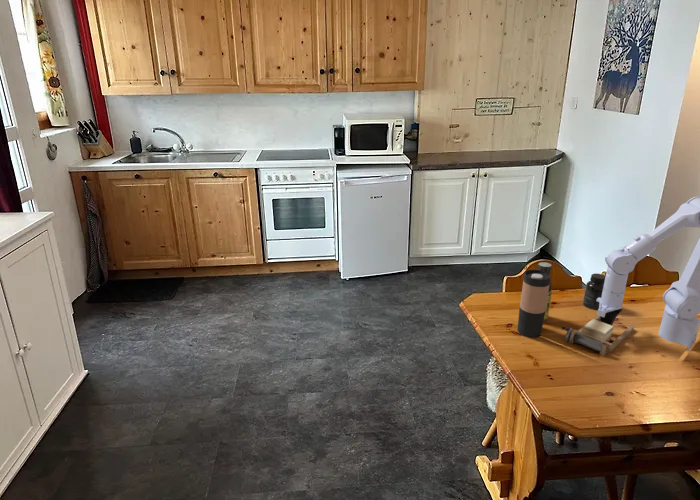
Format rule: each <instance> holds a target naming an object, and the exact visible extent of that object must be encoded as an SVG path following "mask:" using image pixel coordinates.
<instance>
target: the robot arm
mask: <svg viewBox="0 0 700 500" xmlns="http://www.w3.org/2000/svg"><path fill="white" fill-rule="evenodd" d="M683 228H700V195H698V196H694V197H691V198H689V199H688V200H687V201H686V202H685V203H683V204H680V206H679V208H678V209H677V211H675V213H673V214H671V216H670V217H668V218H667V219H666V220H665V221H663V222H662V223H660V224H659V225H658V226H657V227H655V228H654V229H653V230H652V231H651V232H649V233H645V234H644V233H640V235H636V236H634V237H633V239H632V240H630V241H629V242H627V244H625V245H624V246H621V247H619V248H618V249H616V250H615V249H613V250H612V251H610V252H609V253H608V254H607V256H606V257H605V258H604V261H605V264H606V265H607V267H606V273H605V276H606V277H605V282H604V287H603V292H602V297H601V298H597V302H599V303H600V304H599V307H598V310H597V313H596V316H597V315H598V316H600V322H603V323H606V324H609V325H612V326H613V324H614V323H615V320H616V318H617V317H618V316H619V315H620V313H621V312H622V309H623V301H624V296H625V292H626V286H627V281H628V277H629V273H631V272H633V271H634V269H635V266H636V265H637V264H638V262H639V261H641V260H643V259H644V258H645V257H647V256H648V255H651V253H652V252H654V251H656V249H657V245H658V244H659V243H660V242H662V241H663V240H665V239H667V238H668V237H670V236H672V235H673V234H675V233H677V232H679V231H680V230H682V229H683ZM662 295H663V296H662V300H663V302H664V304H665V306H664V310H663V314H662V319H661V323H660V326H659V330H658V336H659V337H660V338H662V340H665V341H667V342H671V343H675V344H678V345H683V346H685V347H686V348H685V350H686V351H690V349H691V348H692V347H693V345H694V344H695V343H696V341H697V336H698V333H699V329H700V319H699V318H698V317H697V316H698V315H699V314H700V237H699V238H698V241H697V242H696V245H695V247H694V249H693V252H691V255H690V257H689V260H688V261H687V264H686V265H685V268H684V270H683V271H682V274H681V276H680V278H679V280H677V281H674V282H672V283H671V285H670V287H669V288H668V289H666V291H664V293H663V294H662Z"/></svg>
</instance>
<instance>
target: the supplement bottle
mask: <svg viewBox="0 0 700 500" xmlns="http://www.w3.org/2000/svg"><path fill="white" fill-rule="evenodd" d="M605 277H606V274H602V273H596V272H595V273H592V274H591V275H590V279H589V281H587V283H586V285H585V289H584V290H585V291H584V295H583V299H582V305H583V306H584V307H585V308H586V309H589V310H593V311H598V307H599V304H600V303H599V302H597V298H601V297H602V292H603V287H604V282H605Z"/></svg>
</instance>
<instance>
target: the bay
mask: <svg viewBox="0 0 700 500" xmlns="http://www.w3.org/2000/svg"><path fill="white" fill-rule="evenodd" d="M592 319H595V320H598V321H601V319H600V316H598V315H597V314H596V315H595V316H594V317H593V318H592ZM592 319H590V320H589V321H588V322H587V323H589V322H590V321H591V320H592ZM587 323H585V324H584V325H582V327H580V328H579V329H578V330H577V329H573V330H574V331H576V332H577V333H579V334H582V335H585V336H587V337H590V338H592V339H595V340H598V341H600V342H603V343H604V342H605V343H607V344H608V348H607V352H606V354H607V353H608V354H610V353H611V352H612V351H613V350H614V349H616V347H617V346H619V345H620V343H622V341H624V340H625V339H626V338H627V337H629V335H630V334H631V333H632V332H633V331H634V329H635V326H634V325H630V326H628V327H627V328H626V329H625V330H624V331H623V332H622V333H621V334H620V335H618V337H617V338H616V339H614V341H613V342H610V341H609V342H606V341H603V340H601V339H598V338H595V337H593V336H590V335H588V334H585V333H583V331H584V326H585V325H586V324H587Z"/></svg>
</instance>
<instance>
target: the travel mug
mask: <svg viewBox="0 0 700 500" xmlns="http://www.w3.org/2000/svg"><path fill="white" fill-rule="evenodd" d="M551 277H552V276H551V274H550V275H547V274H546V273H545V272H544V271H541V270H538V269H528V270H526V271H525V272H524V274H523V280H522V281H523V282H522V289H521V293H520V303H519V310H518V311H519V312H518V319H517V320H518V321H517V332H518V333H519V334H520V335H521V336H524V337H525V338H530V339H531V338H533V339H534V338H539V337H540V336H541V334H542V331H543V326H544V323H545V322H544V317H545V311H546V305H547V298H548V291H549V285H550V281H551Z"/></svg>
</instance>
